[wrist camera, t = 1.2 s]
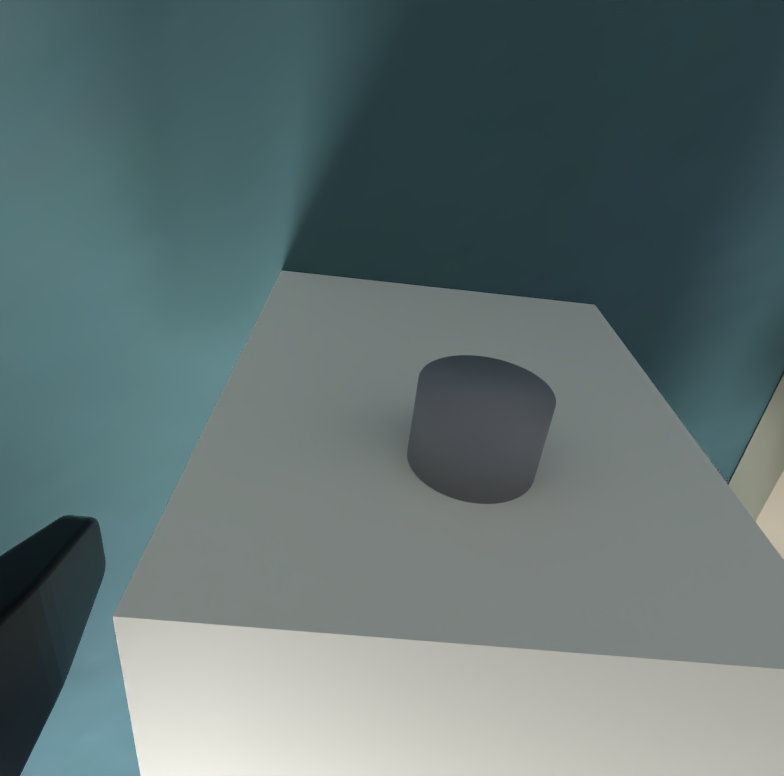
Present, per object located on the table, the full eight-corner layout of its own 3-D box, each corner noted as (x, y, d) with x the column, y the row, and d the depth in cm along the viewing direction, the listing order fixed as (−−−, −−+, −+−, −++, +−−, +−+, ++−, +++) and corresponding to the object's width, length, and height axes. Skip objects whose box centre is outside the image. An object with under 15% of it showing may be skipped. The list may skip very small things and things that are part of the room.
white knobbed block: (514, 570, 13) (609, 994, 7) (275, 549, 12) (175, 974, 7) (609, 256, 9) (937, 594, 4) (282, 218, 9) (95, 521, 3)
